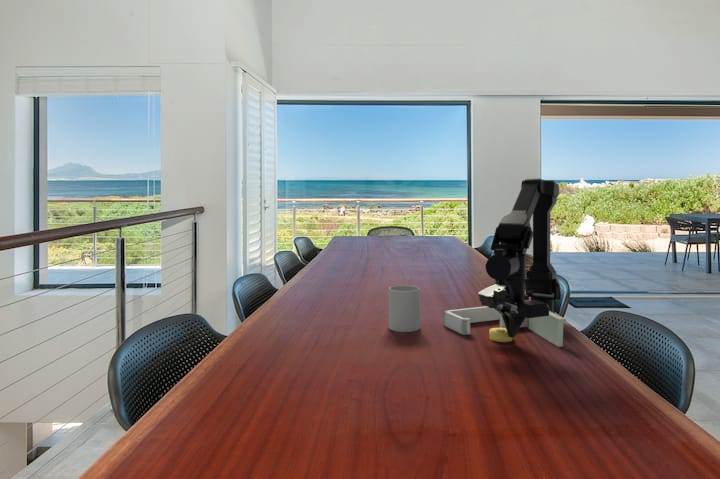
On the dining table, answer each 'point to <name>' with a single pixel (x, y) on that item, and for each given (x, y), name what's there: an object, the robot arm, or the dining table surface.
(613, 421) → the dining table surface
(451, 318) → the white open pen
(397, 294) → the mug
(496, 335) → the cord coil
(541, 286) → the robot arm
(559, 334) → the cover
